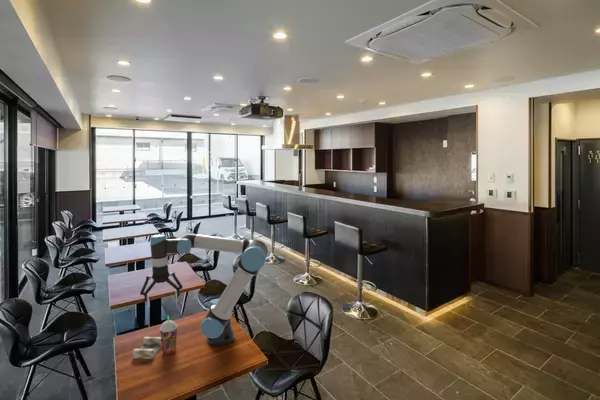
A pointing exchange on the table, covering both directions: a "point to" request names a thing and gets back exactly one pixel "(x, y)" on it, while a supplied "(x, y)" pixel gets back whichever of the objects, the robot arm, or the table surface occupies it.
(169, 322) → the smoothie
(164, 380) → the table surface
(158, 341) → the rest
